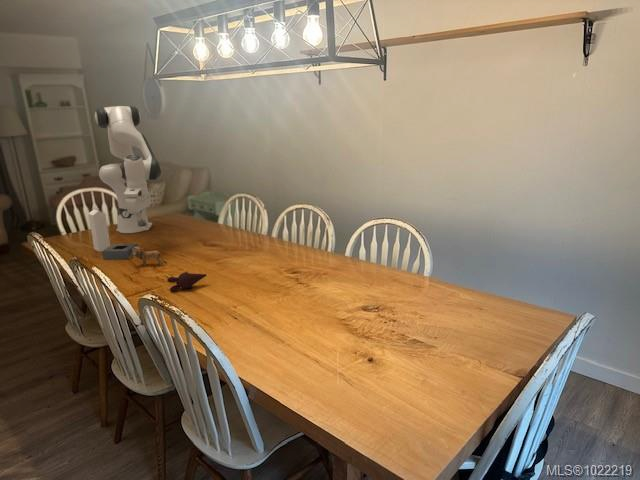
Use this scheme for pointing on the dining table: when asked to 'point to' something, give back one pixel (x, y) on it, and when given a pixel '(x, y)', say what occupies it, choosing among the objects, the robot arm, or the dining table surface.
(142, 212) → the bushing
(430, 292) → the dining table surface
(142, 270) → the dining table surface
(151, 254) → the lion figurine
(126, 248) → the jig
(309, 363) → the dining table surface
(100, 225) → the milk
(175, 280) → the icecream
